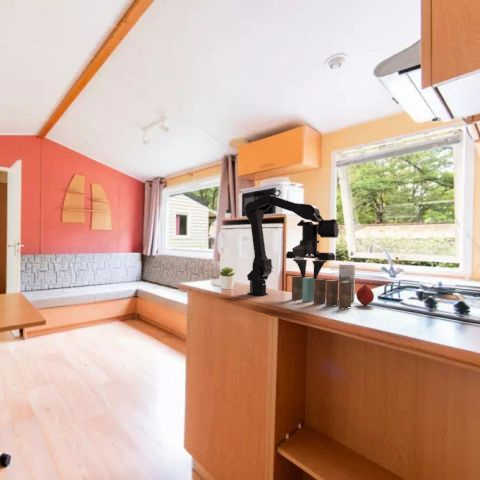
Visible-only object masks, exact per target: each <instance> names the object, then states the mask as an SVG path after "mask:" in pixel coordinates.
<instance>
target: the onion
mask: <svg viewBox="0 0 480 480" xmlns="http://www.w3.org/2000/svg"><path fill="white" fill-rule="evenodd" d="M374 298H375V294H374V292H373V290H372V289H371V288H370V287H369V286H368V285H367V283H364V284H363V286H361V287H359V288H358V290H357V291H356V299H357V300H358V302H359V303H360V304H361V305H362V306H363V307H367V306H368V305H370V303H372V302H373V301H374Z"/></svg>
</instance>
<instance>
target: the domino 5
mask: <svg viewBox="0 0 480 480" xmlns="http://www.w3.org/2000/svg"><path fill="white" fill-rule="evenodd" d="M348 307H351V308H352V301H351V282H349V281H344V282H339V281H338V309H340V308H344V309H343V310H346V309H345V308H347V309H349V308H348Z"/></svg>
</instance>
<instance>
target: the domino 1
mask: <svg viewBox="0 0 480 480" xmlns="http://www.w3.org/2000/svg"><path fill="white" fill-rule="evenodd" d="M302 293H303V278H302V275H296V276H295V275H294V276H291V300H292V301H300V300H302Z"/></svg>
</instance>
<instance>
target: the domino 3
mask: <svg viewBox="0 0 480 480" xmlns="http://www.w3.org/2000/svg"><path fill="white" fill-rule="evenodd" d="M326 281H327V279H326V278H316V279H314V301H313V304H314V305H322V303H323V304H326Z"/></svg>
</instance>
